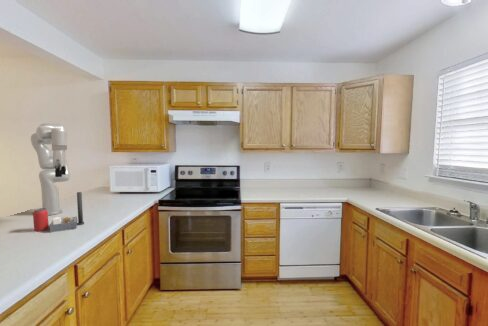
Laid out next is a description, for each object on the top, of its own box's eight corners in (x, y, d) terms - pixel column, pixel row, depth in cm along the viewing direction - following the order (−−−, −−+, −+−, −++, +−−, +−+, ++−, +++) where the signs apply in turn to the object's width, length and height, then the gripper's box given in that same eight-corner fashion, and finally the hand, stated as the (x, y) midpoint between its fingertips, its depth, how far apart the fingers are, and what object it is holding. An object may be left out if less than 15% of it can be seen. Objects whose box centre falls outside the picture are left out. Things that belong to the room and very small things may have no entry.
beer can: (31, 232, 138) (30, 211, 137) (37, 228, 144) (36, 208, 143) (45, 231, 139) (44, 210, 138) (51, 227, 146) (49, 207, 145)
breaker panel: (53, 226, 148) (52, 217, 147) (77, 222, 154) (76, 214, 154) (50, 232, 138) (49, 222, 137) (76, 228, 144) (75, 219, 143)
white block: (54, 222, 142) (54, 217, 142) (60, 221, 143) (60, 216, 143) (53, 224, 138) (53, 219, 138) (60, 223, 140) (59, 218, 140)
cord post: (77, 223, 152) (75, 192, 151) (84, 222, 154) (82, 191, 153) (77, 225, 149) (75, 193, 148) (84, 224, 151) (82, 192, 150)
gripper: (56, 147, 157) (57, 174, 159) (47, 148, 142) (49, 178, 143) (70, 147, 160) (71, 173, 162) (63, 148, 145) (64, 177, 146)
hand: (60, 175), depth 153 cm, fingers open, 9 cm apart
